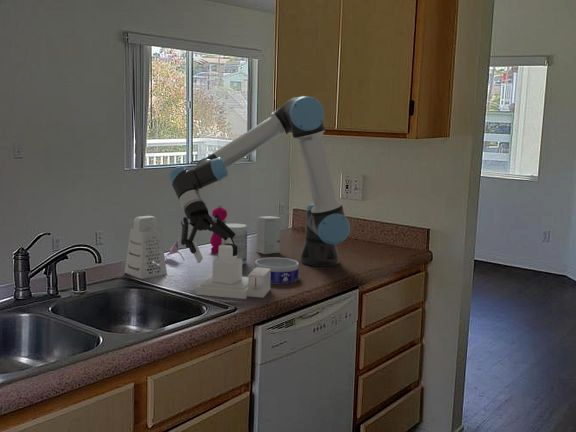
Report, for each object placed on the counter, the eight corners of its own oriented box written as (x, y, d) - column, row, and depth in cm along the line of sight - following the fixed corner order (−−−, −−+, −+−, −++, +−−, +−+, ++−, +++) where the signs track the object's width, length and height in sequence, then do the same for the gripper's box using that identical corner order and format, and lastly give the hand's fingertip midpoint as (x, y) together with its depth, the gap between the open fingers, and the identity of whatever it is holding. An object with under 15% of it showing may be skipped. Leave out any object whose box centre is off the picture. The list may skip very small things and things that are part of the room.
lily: (177, 258, 257) (165, 237, 254) (200, 250, 251) (187, 229, 248) (162, 273, 247) (149, 252, 244) (185, 265, 241) (172, 243, 238)
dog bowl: (286, 272, 237) (286, 255, 236) (306, 282, 223) (306, 265, 222) (247, 275, 230) (248, 258, 229) (265, 286, 216) (266, 268, 215)
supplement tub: (251, 264, 245) (252, 226, 243) (228, 267, 240) (229, 228, 237) (238, 259, 253) (239, 222, 251) (216, 261, 248) (217, 224, 245)
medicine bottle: (222, 277, 213) (223, 241, 211) (242, 280, 210) (243, 243, 209) (212, 282, 207) (212, 245, 205) (232, 285, 204) (232, 247, 202)
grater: (167, 274, 227) (167, 217, 223) (141, 278, 219) (141, 220, 216) (150, 268, 234) (150, 213, 231) (124, 272, 226) (124, 216, 223)
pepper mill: (229, 251, 268) (230, 203, 265) (225, 254, 261) (226, 205, 258) (212, 249, 269) (213, 202, 266) (207, 253, 262) (208, 204, 259)
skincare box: (263, 254, 263) (264, 218, 261) (255, 251, 268) (256, 216, 266) (280, 252, 268) (281, 217, 266) (272, 249, 273) (273, 215, 271)
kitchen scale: (272, 287, 214) (272, 266, 213) (261, 300, 199) (261, 278, 198) (211, 282, 218) (211, 261, 217) (195, 294, 203) (196, 272, 202)
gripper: (219, 210, 231) (243, 260, 222) (157, 215, 215) (180, 269, 206) (228, 197, 226) (253, 247, 217) (165, 202, 210) (189, 256, 201)
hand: (218, 258), depth 212 cm, fingers open, 13 cm apart
